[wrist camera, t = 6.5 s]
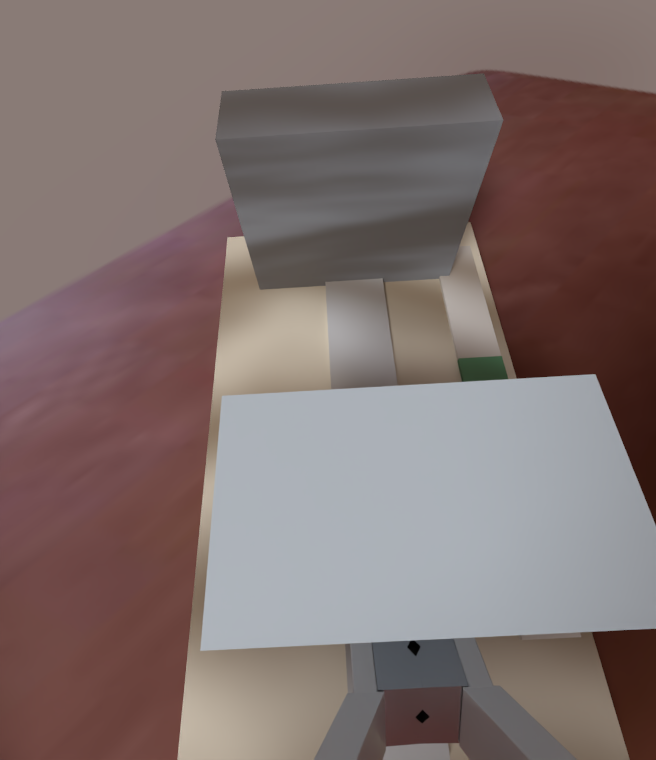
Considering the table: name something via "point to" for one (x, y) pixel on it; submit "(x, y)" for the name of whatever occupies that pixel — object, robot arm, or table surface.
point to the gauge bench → (360, 367)
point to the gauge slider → (425, 516)
